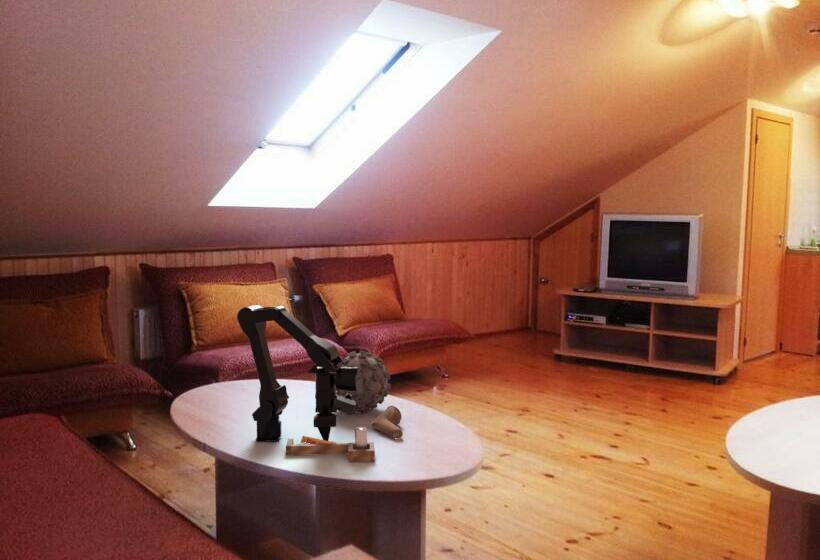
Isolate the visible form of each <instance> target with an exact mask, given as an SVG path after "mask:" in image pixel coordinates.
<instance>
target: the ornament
mask: <svg viewBox="0 0 820 560" xmlns="http://www.w3.org/2000/svg"><path fill="white" fill-rule="evenodd" d="M342 360H343V362H344V363H345V365H346V366H345V367H359V368H360V372H361V374H362V377H363V383H362V388H361V390H360V391H359V392H357V391H344V390H339V389H338V388H336V391H337V396H344V395H346V394H347V393H348V394H351V396H352V400H354V401H355V402H356V406H355V409H354V412H353V414H361V411H363V413H368V412H371V411H372V410H374V409H376V408H378V404H379V405H382V404H383V403H384V402H385V398H387V397H388V394H389V390H390V389H391V383H389V381H390V379H391V376H390V375H391V374H390V373H389V370H388V367H387V366H385V365H384V361H383V360H382V359H381V358H380V357H379V356H377V355H375V356H372V353H371V352H368V351H365V350H359V352H358V353H357V352H356V351H354V350H353V351H351V352H349V353H348V354H345V355H344V356H342Z"/></svg>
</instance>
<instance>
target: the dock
mask: <svg viewBox="0 0 820 560" xmlns="http://www.w3.org/2000/svg"><path fill="white" fill-rule="evenodd" d="M286 441H287V442H286V445H285V456H305V455H304V454H323V455H347V457H348V459H347V461H348V463H369V462H370V463H373V462H376V461H375V457H376V456H375V455H376V454H375V453H376V451H375V450H376V448H375V442H374V441H373V442H371V441H367V449H359V450H355V442H346V443H345V442H344V443H339V442H338V443H337V444H306V443H301V444H300V443H299V444H296V443H295V444H294V438H287V440H286Z"/></svg>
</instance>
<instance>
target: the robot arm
mask: <svg viewBox="0 0 820 560" xmlns="http://www.w3.org/2000/svg"><path fill="white" fill-rule="evenodd" d="M236 319H237V322H238V326H239V327H240V329H241V331H242V332H243V334H244V335H245V336H246V337H247V338H248V342H249V346H250V349H251V354H252V357H253V362H254V365H255V369H256V374H257V376H258V379H259V380H258V381H259V385H260V388H259V393H258V394H259V395H258V403H259V406H258V407H257V408H256V409H255V411H253V413H252V414H251V416H252V419H253V421H254V422H256V438H255V442H278V441H279V440H280V438H281V437H282V433H283V432H282V421H281V420H280V416H281V415H282V414H283V411H284V410H285V409H286V408H287V405H289V399H290V396H289V395H288V392H287V386H286V385H285V384H284V385H281V384H280V383H279V382H278V380H277V377H276V372H275V369H274V364H273V360H272V357H271V353H270V349H269V345H268V341H267V338H266V329H267V322H272V321H273V322H274V323H276V325H278V326H279V327H280V328H282V330H284V331H285V332H286V333H287V334H288V335H289V336H290V337H291V338H293V339H294V340H295V341H296V342H297V343H298V344H299V345H300V346H301V347H303V349H304V350H305V352H306V355H307V356H308V358H309V359H310V360H311V362H312V363H313V366H312V367H310V369H308V370H307V373H308V374H313V375H315V381H314V382H315V384H314V385H315V394H314V396H315V413H316V415H314V417H313V420H312V422H313V427H314V428H317V430H318V432H319V434H320V436H321V440H326V441H330V434H331V429H332V428H336V427H337V417H338V415H337V414H335V413H338V411H339V412H342V413H345V414H347V415H349V416H353V414H354V409H355V406H356V402H355V401H354V400H352V396H351V394H348V393H347V394H346V395H344V396H337V391H336V388H338V389H339V390H344V391H357V392H359V391H360V390H361V388H362V383H363V377H362V374H361V372H360V368H359V367H345V366H346V365H345V363H344V362H343V358H342V357H341V356H340V354H339V350H338V348H337V346H336V345H334V343H333V344H332V343H331V342H330V341H328V340H326V339H324V338H321V337H319V336H317V335H316V334H314V333H313V332H312V331H311V330H310V329H309V328H308V327H306V326H305V325H304V324H303V323H302V322H300V320H298V319H297V318H296V317H295V316H294V315H292V314H291V313H290V311H288V309H287V308H286V307H284V306H283V305H278V306H264V307H263V306H261V305H258V304H252V305H249V306H245V307H242V308H241V309H240V310H239V311H238V312H237V314H236Z"/></svg>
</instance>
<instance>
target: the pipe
mask: <svg viewBox="0 0 820 560" xmlns="http://www.w3.org/2000/svg"><path fill="white" fill-rule="evenodd" d="M401 421H402V414H401V411H400V409H399V408H398V407H397V406H395V405H389V406H387V407H386V409H384V410H383V411H382V412H381V413H380V414H378V416H377V417H376V418H375V419H374V421H372V422H371V427H372V428H373V429H375V430H377V431H379V432H381V433H382V434H384V435H385V436H388V437H389V438H391V439H393V440H396V439H395V438H399V439H401V438H402V437H403V434H404V433H403V430H402V429H401V428H399V427H398V425H400V423H401ZM397 424H398V425H397Z"/></svg>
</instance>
